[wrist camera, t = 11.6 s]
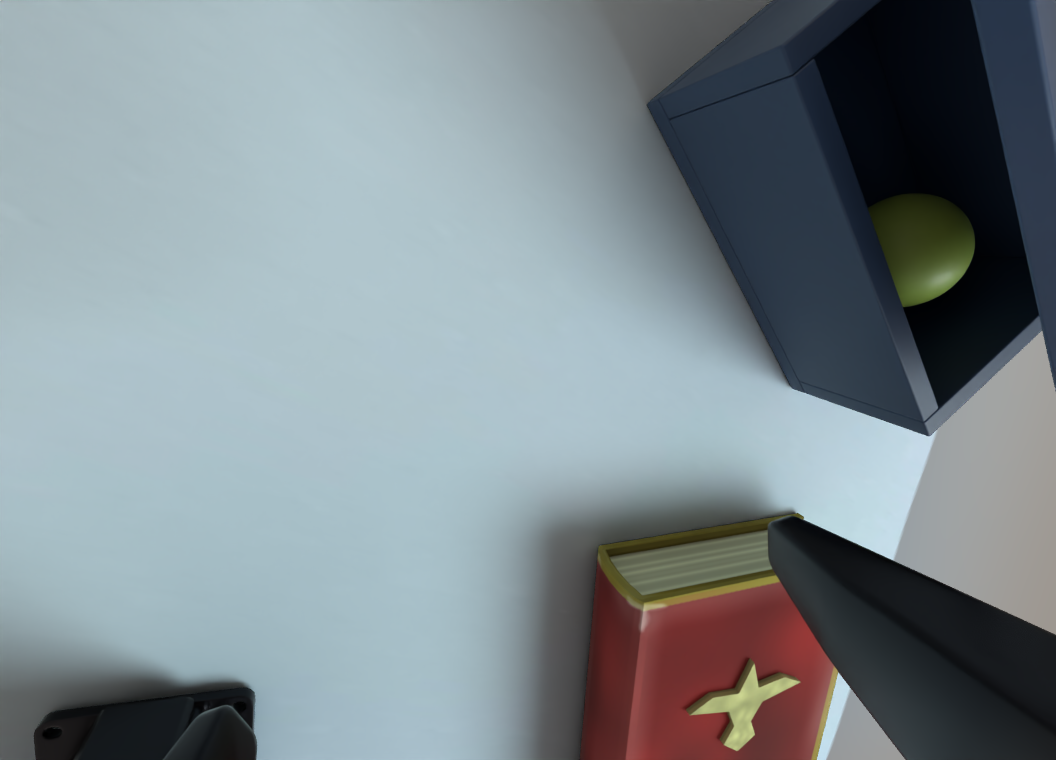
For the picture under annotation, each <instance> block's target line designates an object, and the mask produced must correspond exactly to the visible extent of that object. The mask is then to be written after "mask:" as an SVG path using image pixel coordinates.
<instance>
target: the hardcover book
mask: <svg viewBox="0 0 1056 760" xmlns="http://www.w3.org/2000/svg"><path fill="white" fill-rule="evenodd" d="M786 516H796V517H799V518H801V519H804V517H803V516H802V515H800V514H798V513H796V514H790V515H784V516H778V517H771V518H765V519H759V520H753V521H747V522H741V523H735V524H729V525H722V526H716V527H710V528H704V529H698V530H692V531H686V532H680V533H673V534H667V535H661V536H655V537H649V538H643V539H637V540H631V541H624V542H618V543H612V544H606V545H600V546H599V548H598V558H597V569H596V581H595V592H594V603H593V615H592V626H591V637H590V649H589V660H588V671H587V683H586V694H585V705H584V716H583V728H582V739H581V750H580V760H817V756H818V752H819V748H820V744H821V740H822V736H823V732H824V728H825V724H826V719H827V715H828V711H829V707H830V703H831V699H832V695H833V691H834V687H835V683H836V679H837V675H838V671H837V669H836V668H835V667H834V665H833V664H832V662H831V661H830V660H829V658H828V657H827V655H826V654H825V652H824V651H823V649H822V648H821V646H820V645H819V643H818V642H817V640H816V638H815V637H814V635H813V634H812V632H811V630H810V629H809V627H808V626H807V624H806V622H805V621H804V619H803V618H802V616H801V614H800V613H799V611H798V610H797V608H796V606H795V605H794V603H793V602H792V600H791V598H790V597H789V595H788V593H787V592H786V590H785V589H784V587H783V585H782V584H781V582H780V581H779V579H778V577H777V576H776V574H775V573H774V571H773V569H772V567H771V565H770V562H769V558H768V525H769V523H770V522H772V521H774V520H777V519H780V518H783V517H786Z"/></svg>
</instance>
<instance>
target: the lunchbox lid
mask: <svg viewBox="0 0 1056 760" xmlns="http://www.w3.org/2000/svg"><path fill="white" fill-rule="evenodd" d="M971 4H972V9H973V14H974V18H975V23H976V27H977V32H978V37H979V41H980V46H981V50H982V55H983V60H984V64H985V69H986V73H987V78H988V83H989V87H990V92H991V96H992V101H993V106H994V110H995V115H996V119H997V124H998V129H999V133H1000V138H1001V142H1002V147H1003V152H1004V156H1005V161H1006V165H1007V170H1008V174H1009V179H1010V184H1011V188H1012V193H1013V197H1014V202H1015V207H1016V211H1017V216H1018V220H1019V225H1020V230H1021V234H1022V239H1023V243H1024V248H1025V253H1026V257H1027V262H1028V266H1029V271H1030V276H1031V280H1032V285H1033V289H1034V294H1035V299H1036V303H1037V308H1038V312H1039V317H1040V322H1041V326H1042V331H1043V335H1044V340H1045V345H1046V349H1047V354H1048V358H1049V362H1050V367H1051V372H1052V377H1053V381H1054V385H1055V391H1056V0H971Z"/></svg>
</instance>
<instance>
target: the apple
mask: <svg viewBox="0 0 1056 760" xmlns="http://www.w3.org/2000/svg"><path fill="white" fill-rule="evenodd" d="M868 211H869V213H870V216H871V219H872V222H873V225H874V227H875V230H876V233H877V236H878V239H879V242H880V244H881V247H882V250H883V253H884V256H885V258H886V261H887V264H888V267H889V270H890V273H891V275H892V278H893V281H894V284H895V287H896V289H897V292H898V295H899V298H900V301H901V303H902V306H903V307H909V306H914V305H918V304H922V303H925V302H928V301H930V300H932V299H934V298H936V297H938V296H940V295H942V294H943V293H945V292H946V291H948V290H949V289H950V288H951V287H953V286H954V285H955V284H956V283H957V282H958V281H959V280H960V279H961V277H962V276H963V275H964V273H965V272H966V270H967V268H968V267H969V265H970V263H971V260H972V258H973V254H974V249H975V235H974V230H973V227H972V225H971V223H970V221H969V219H968V217H967V216H966V215H965V213H964V212H963V211H962V210H961V209H960V208H959V207H957V206H956V205H955V204H953V203H952V202H950V201H948V200H946V199H944V198H941V197H938V196H935V195H930V194H924V193H908V194H901V195H896V196H893V197H889V198H886V199H884V200H882V201H879V202H877V203H875V204H873V205H872V206H870V207H868Z"/></svg>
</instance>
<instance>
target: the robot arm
mask: <svg viewBox="0 0 1056 760" xmlns="http://www.w3.org/2000/svg"><path fill="white" fill-rule="evenodd" d="M768 558H769V562H770V565H771V567H772V569H773V571H774V573H775V574H776V576H777V577H778V579H779V581H780V582H781V584H782V585H783V587H784V589H785V590H786V592H787V593H788V595H789V597H790V598H791V600H792V602H793V603H794V605H795V606H796V608H797V610H798V611H799V613H800V614H801V616H802V618H803V619H804V621H805V622H806V624H807V626H808V627H809V629H810V630H811V632H812V634H813V635H814V637H815V638H816V640H817V642H818V643H819V645H820V646H821V648H822V649H823V651H824V652H825V654H826V655H827V657H828V658H829V660H830V661H831V662H832V664H833V665H834V667H835V668H836V669H837V671H838V672H839V673H840V675H841V676H842V677H843V679H844V680H845V681H846V683H847V684H848V685H849V686H850V688H851V689H852V690H853V692H854V693H855V694H856V696H857V697H858V698H859V700H860V701H861V702H862V703H863V705H864V706H865V707H866V709H867V710H868V711H869V713H870V714H871V715H872V717H873V718H874V719H875V720H876V722H877V723H878V724H879V726H880V727H881V728H882V729H883V731H884V732H885V734H886V735H887V736H888V737H889V739H890V740H891V741H892V743H893V744H894V745H895V747H896V748H897V749H898V750H899V752H900V753H901V754H902V756H903V757H904V758H905V759H906V760H1056V635H1055V634H1053V633H1051V632H1048V631H1046V630H1044V629H1042V628H1040V627H1038V626H1035V625H1033V624H1031V623H1028V622H1027V621H1024V620H1022V619H1020V618H1018V617H1015V616H1013V615H1011V614H1009V613H1007V612H1005V611H1002V610H1000V609H998V608H996V607H994V606H991V605H989V604H987V603H985V602H983V601H981V600H978V599H976V598H974V597H972V596H969V595H967V594H965V593H963V592H961V591H959V590H956V589H954V588H952V587H950V586H948V585H945V584H943V583H941V582H939V581H937V580H935V579H932V578H930V577H928V576H926V575H923V574H921V573H919V572H917V571H915V570H912V569H910V568H908V567H906V566H904V565H902V564H899V563H897V562H895V561H893V560H891V559H888V558H886V557H884V556H882V555H880V554H878V553H875V552H873V551H871V550H869V549H867V548H864V547H862V546H860V545H858V544H856V543H853V542H851V541H849V540H847V539H845V538H842V537H840V536H838V535H836V534H834V533H831V532H829V531H827V530H825V529H823V528H821V527H818V526H816V525H814V524H812V523H810V522H807V521H805V520H803V519H801V518H799V517H796V516H786V517H783V518H780V519H777V520H774V521H772V522H770V523H769V525H768ZM236 702H243V703H242V704H236ZM254 719H255V694H254V692H253V691H252V690H251V689H248V688H234V689H226V690H219V691H211V692H203V693H195V694H187V695H179V696H171V697H163V698H156V699H148V700H140V701H132V702H124V703H116V704H108V705H101V706H93V707H85V708H77V709H69V710H61V711H56V712H52V713H50V714H48V715H46V716H45V717H44V718H43V719H42V721H41V722H40V724H39V725H38V727H37V728H36V730H35V733H34V744H35V755H36V760H256V755H257V741H256V737H255V734H254ZM52 727H58V728H60V729H54V728H52Z"/></svg>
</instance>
